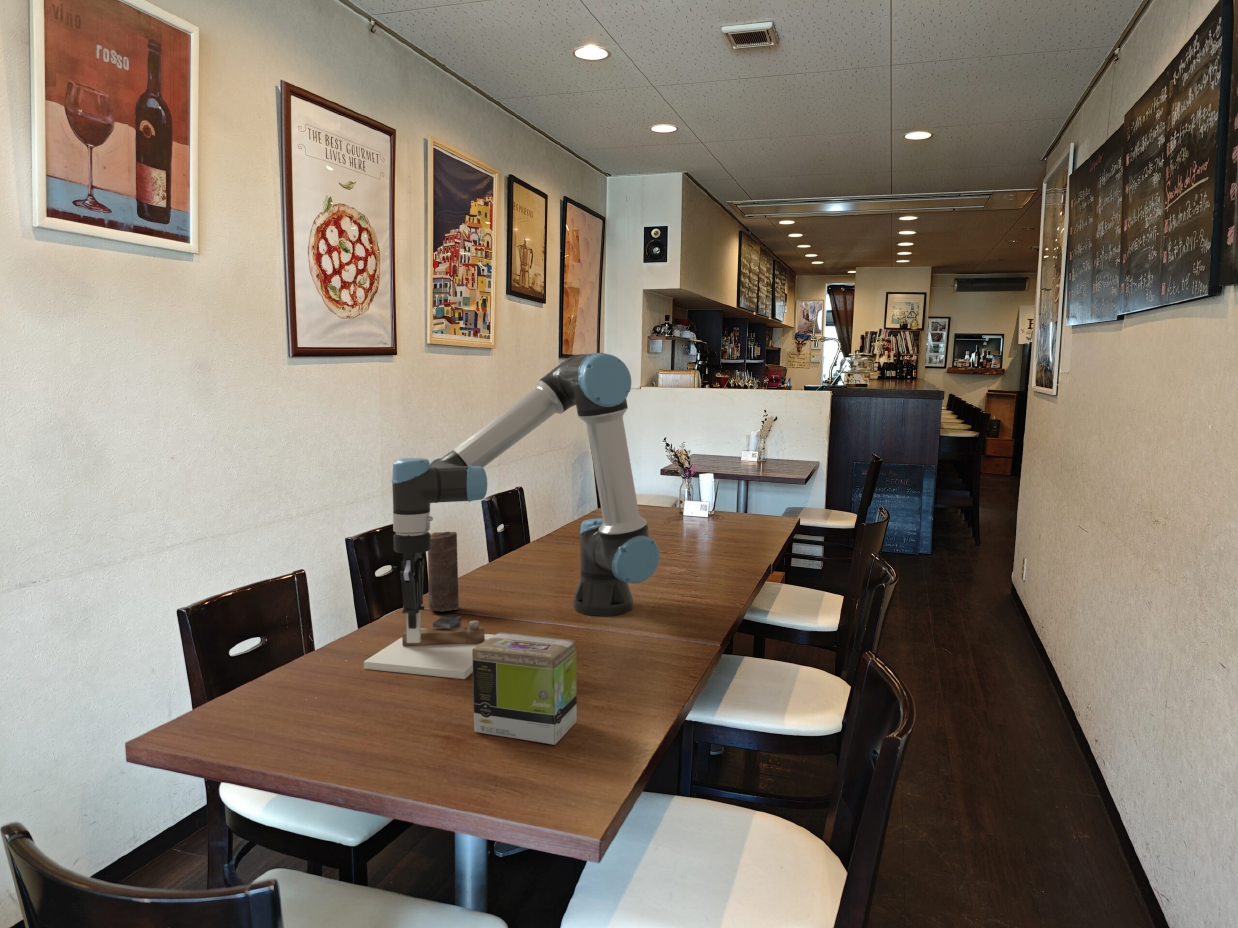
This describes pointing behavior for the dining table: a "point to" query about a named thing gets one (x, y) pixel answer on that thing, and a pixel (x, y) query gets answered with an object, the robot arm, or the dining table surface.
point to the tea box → (525, 687)
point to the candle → (443, 572)
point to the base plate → (426, 659)
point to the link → (449, 635)
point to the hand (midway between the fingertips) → (414, 641)
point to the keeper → (448, 622)
